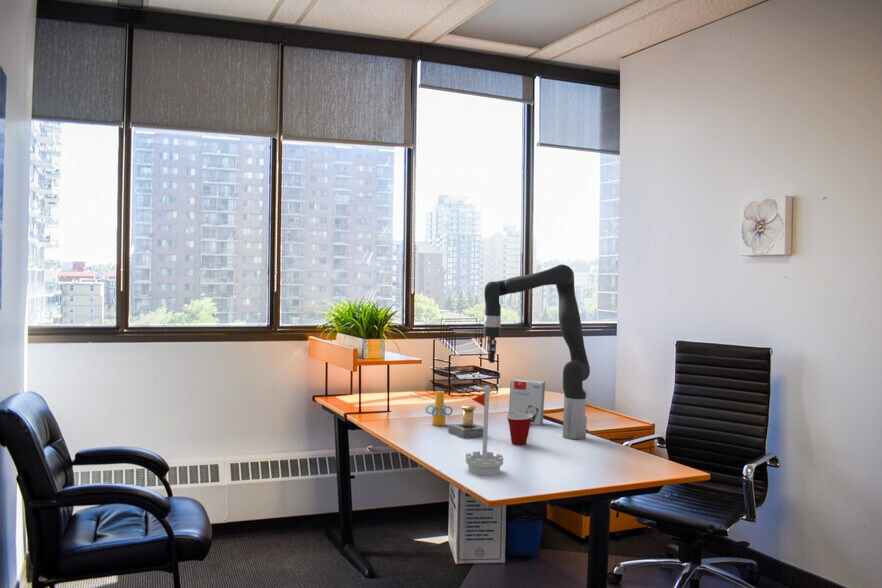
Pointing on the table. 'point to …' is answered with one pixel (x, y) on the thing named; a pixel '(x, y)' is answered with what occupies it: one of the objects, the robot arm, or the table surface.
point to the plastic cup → (519, 427)
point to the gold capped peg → (468, 416)
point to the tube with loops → (439, 409)
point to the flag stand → (484, 445)
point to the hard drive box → (527, 398)
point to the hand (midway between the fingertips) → (491, 361)
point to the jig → (466, 430)
